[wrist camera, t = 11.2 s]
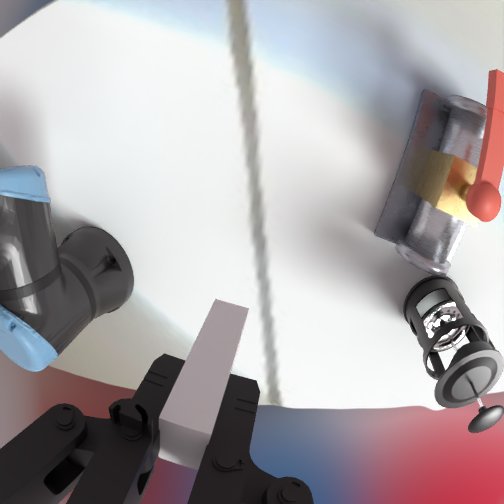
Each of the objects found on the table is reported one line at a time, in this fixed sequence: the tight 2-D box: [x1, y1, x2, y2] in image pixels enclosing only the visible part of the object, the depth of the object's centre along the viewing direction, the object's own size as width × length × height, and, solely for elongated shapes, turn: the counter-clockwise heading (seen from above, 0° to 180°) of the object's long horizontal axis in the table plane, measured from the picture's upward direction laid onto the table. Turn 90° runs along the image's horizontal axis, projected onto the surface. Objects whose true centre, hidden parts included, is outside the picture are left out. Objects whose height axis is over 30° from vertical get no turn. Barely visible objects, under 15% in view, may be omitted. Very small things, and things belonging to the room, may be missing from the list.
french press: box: [404, 275, 504, 433], centre depth 30 cm, size 12×9×23 cm
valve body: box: [374, 90, 487, 276], centre depth 29 cm, size 20×12×10 cm, turn 164°
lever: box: [466, 69, 504, 222], centre depth 21 cm, size 15×4×2 cm, turn 172°
